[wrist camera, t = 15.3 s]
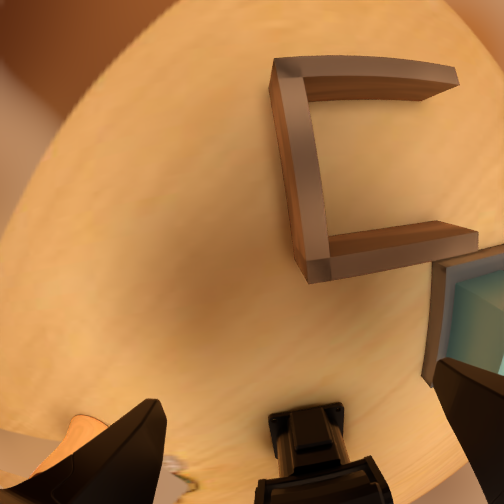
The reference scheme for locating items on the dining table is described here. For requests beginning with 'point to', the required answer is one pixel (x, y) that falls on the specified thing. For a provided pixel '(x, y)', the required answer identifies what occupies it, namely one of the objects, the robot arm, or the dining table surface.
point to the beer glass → (72, 440)
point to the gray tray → (452, 298)
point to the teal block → (479, 322)
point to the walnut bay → (308, 174)
